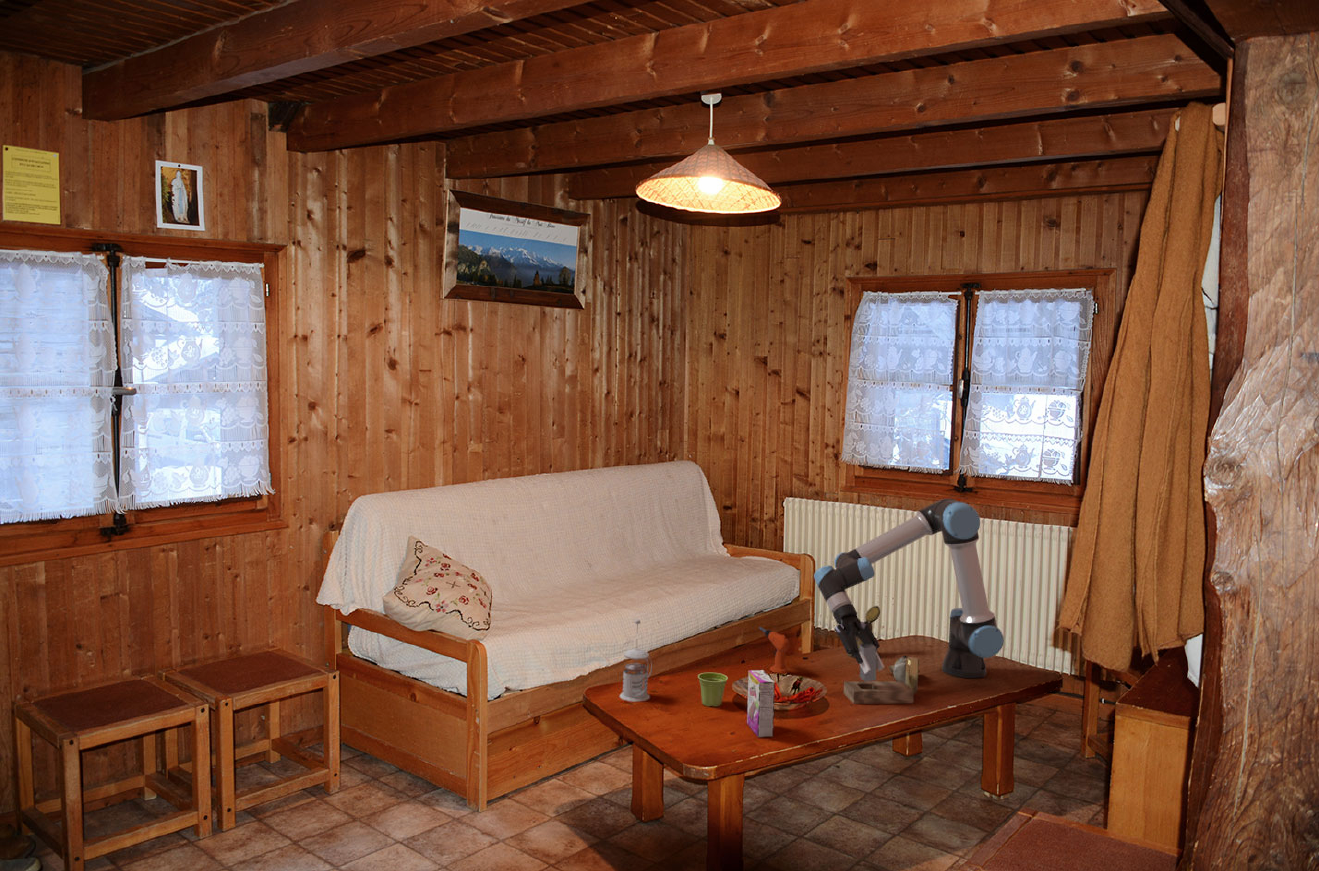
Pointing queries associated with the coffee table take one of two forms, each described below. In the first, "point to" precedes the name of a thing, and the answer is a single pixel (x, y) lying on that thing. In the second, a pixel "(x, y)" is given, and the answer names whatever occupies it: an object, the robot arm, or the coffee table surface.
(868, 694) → the socket block
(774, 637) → the toy drill
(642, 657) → the french press
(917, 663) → the brass cylinder
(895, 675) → the ceramic sculpture
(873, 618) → the tan piece
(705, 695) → the plant pot
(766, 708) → the candy bar box
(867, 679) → the square bit
